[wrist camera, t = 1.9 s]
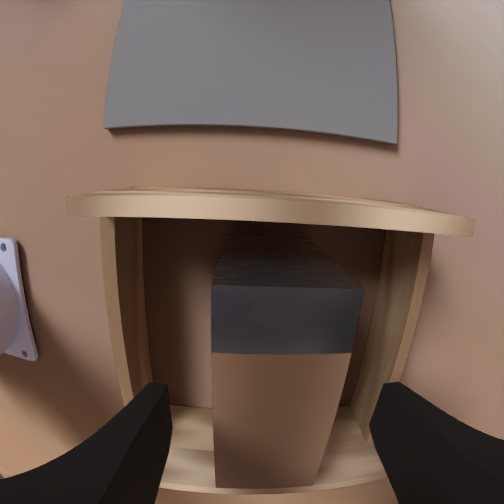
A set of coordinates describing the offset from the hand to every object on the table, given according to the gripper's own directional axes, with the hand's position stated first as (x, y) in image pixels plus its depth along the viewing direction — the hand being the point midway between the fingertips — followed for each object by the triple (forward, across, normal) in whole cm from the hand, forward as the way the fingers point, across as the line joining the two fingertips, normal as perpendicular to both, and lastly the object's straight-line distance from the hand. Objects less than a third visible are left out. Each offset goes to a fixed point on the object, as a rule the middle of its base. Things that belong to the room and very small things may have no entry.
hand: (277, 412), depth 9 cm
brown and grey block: (+7, 0, 0) cm, 7 cm away
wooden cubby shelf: (+7, 0, 0) cm, 7 cm away
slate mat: (+7, +1, -15) cm, 16 cm away
